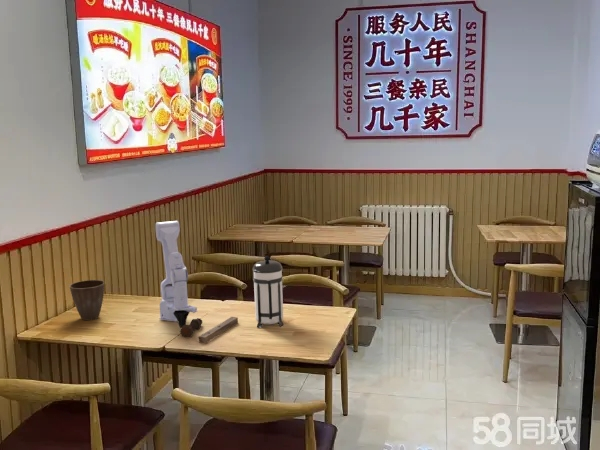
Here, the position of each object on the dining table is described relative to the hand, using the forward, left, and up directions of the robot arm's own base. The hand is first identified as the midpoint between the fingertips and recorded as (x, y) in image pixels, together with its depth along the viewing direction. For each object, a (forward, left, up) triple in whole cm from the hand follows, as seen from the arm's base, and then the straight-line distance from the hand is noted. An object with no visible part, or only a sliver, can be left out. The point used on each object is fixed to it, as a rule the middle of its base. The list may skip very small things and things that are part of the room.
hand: (182, 327), depth 249 cm
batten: (+17, +2, -1) cm, 17 cm away
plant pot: (-50, -1, -1) cm, 50 cm away
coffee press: (+33, +18, -1) cm, 38 cm away
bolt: (+6, 0, -2) cm, 6 cm away
